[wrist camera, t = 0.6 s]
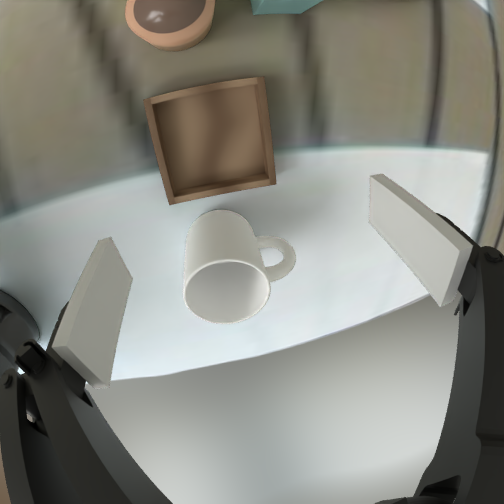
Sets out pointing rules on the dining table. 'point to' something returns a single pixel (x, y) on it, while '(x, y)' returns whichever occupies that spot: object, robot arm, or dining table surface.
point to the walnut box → (212, 139)
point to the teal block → (281, 6)
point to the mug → (229, 268)
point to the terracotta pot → (170, 22)
